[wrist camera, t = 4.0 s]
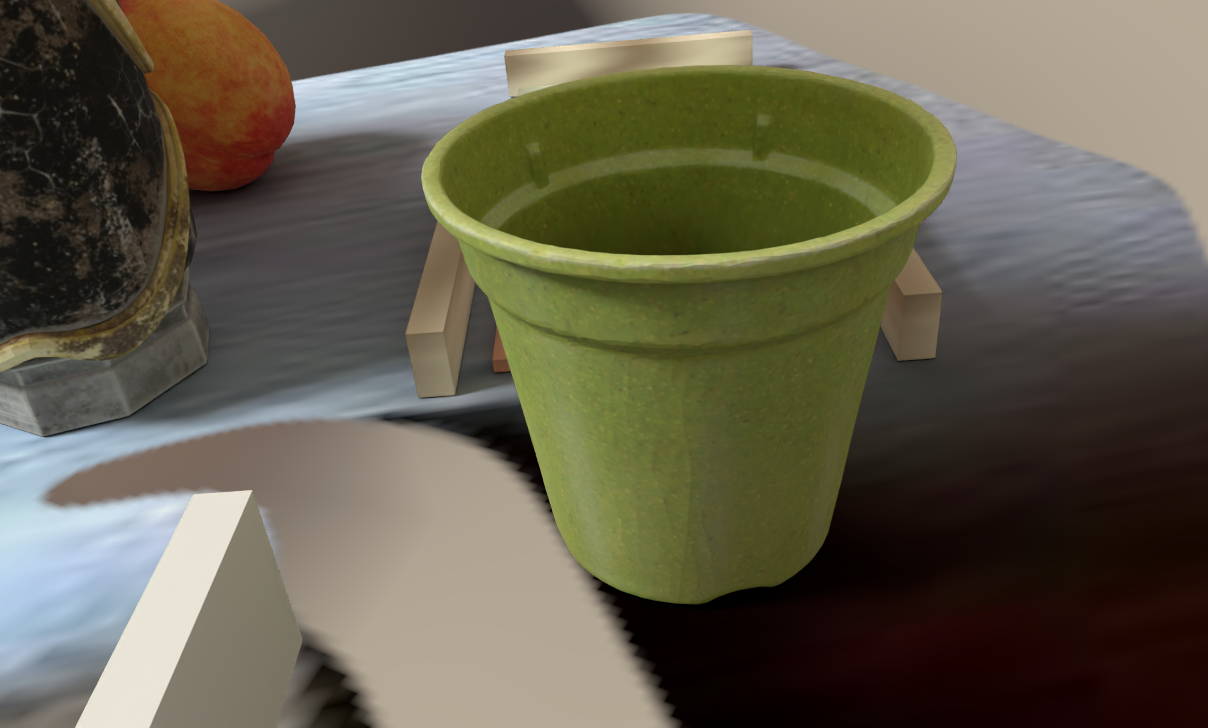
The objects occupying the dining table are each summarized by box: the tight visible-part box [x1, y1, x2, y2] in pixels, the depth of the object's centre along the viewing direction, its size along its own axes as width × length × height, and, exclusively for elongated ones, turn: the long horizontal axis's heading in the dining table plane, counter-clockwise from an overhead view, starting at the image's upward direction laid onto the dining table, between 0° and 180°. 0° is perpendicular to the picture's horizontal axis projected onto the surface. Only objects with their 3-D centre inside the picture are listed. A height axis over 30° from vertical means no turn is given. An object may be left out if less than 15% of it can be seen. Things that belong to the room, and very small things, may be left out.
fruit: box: [118, 0, 296, 192], centre depth 41 cm, size 8×8×8 cm
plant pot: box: [421, 65, 957, 604], centre depth 20 cm, size 9×9×9 cm
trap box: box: [405, 30, 943, 398], centre depth 38 cm, size 14×28×2 cm, turn 1°
